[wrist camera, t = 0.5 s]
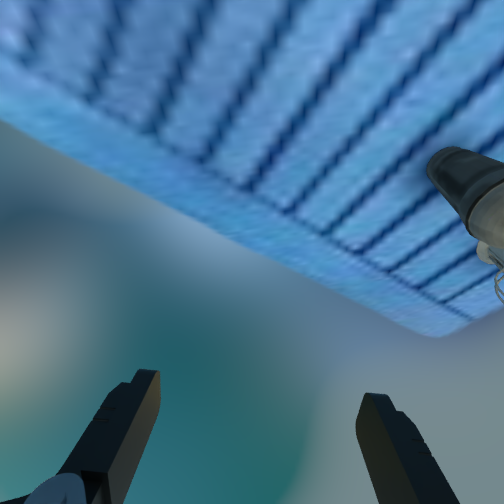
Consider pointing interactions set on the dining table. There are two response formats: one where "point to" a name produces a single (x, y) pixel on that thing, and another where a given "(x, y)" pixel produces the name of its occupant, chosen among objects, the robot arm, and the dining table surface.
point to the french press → (492, 261)
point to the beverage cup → (472, 191)
